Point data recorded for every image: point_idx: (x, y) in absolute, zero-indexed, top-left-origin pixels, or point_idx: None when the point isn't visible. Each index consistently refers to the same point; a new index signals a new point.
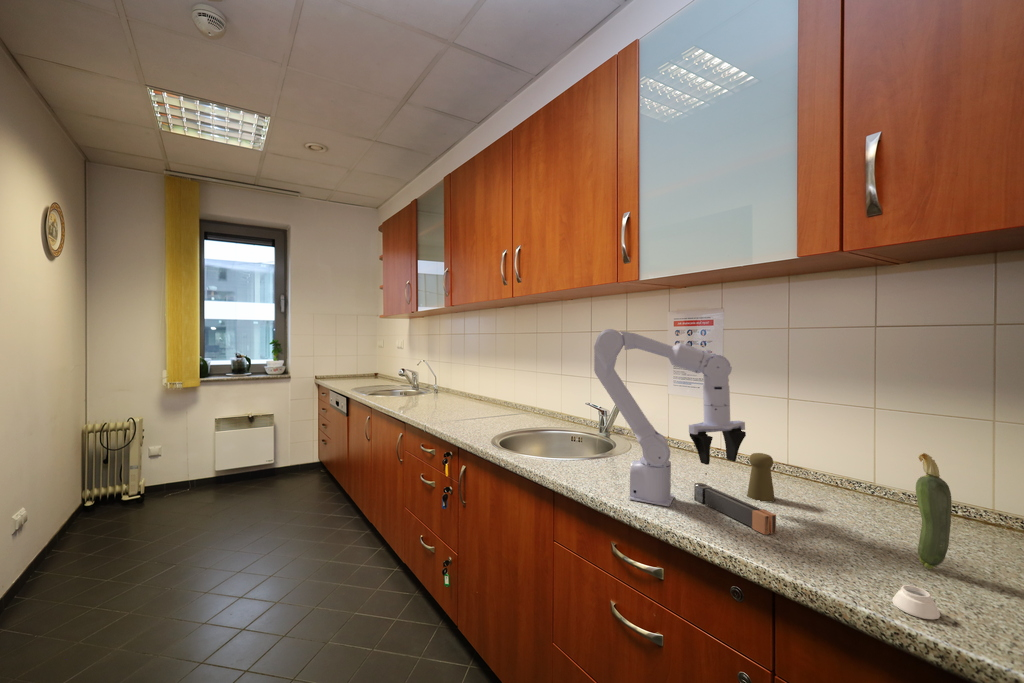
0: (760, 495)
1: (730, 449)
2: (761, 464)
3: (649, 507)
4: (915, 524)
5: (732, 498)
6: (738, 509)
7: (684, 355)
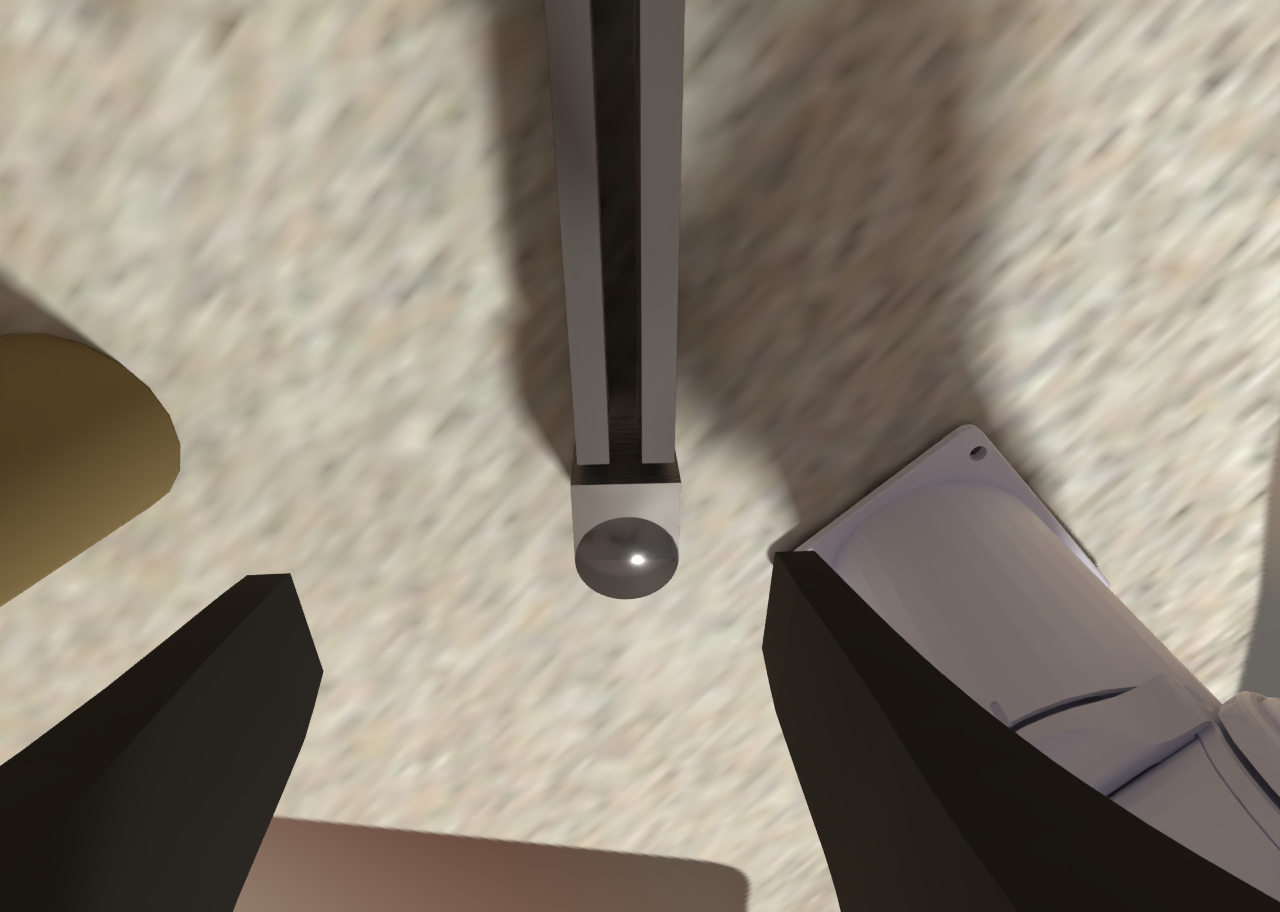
0: (86, 389)
1: (215, 789)
2: None
3: (1090, 449)
4: None
5: (596, 174)
6: None
7: None
